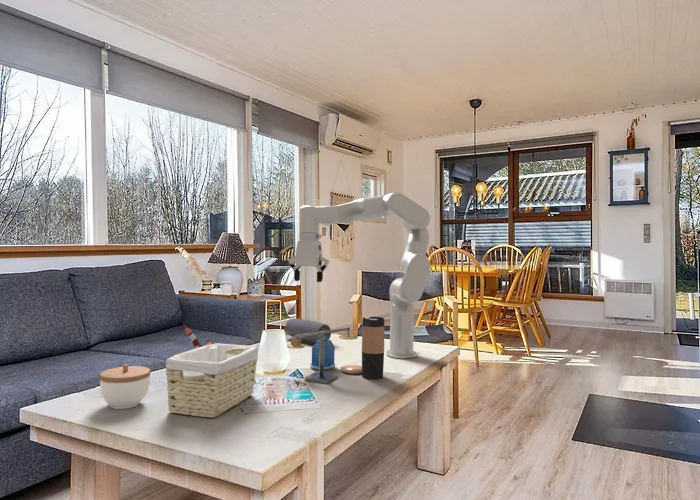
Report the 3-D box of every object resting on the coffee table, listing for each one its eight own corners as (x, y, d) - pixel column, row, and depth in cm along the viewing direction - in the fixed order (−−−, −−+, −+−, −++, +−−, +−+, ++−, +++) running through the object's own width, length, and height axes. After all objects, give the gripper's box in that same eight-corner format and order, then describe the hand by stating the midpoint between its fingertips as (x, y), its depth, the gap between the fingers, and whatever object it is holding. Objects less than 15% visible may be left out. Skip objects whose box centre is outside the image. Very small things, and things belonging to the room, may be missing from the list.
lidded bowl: (117, 416, 125) (117, 373, 125) (89, 406, 132) (90, 365, 132) (159, 402, 136) (160, 363, 136) (132, 394, 143) (132, 357, 143)
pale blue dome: (316, 363, 184) (316, 360, 184) (338, 366, 180) (338, 363, 180) (305, 369, 175) (306, 365, 175) (328, 371, 172) (328, 368, 172)
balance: (293, 372, 171) (294, 320, 171) (360, 380, 162) (361, 326, 161) (281, 377, 164) (282, 324, 163) (351, 387, 154) (352, 330, 154)
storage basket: (212, 389, 150) (212, 341, 150) (260, 394, 145) (261, 345, 145) (161, 415, 127) (162, 358, 127) (216, 422, 122) (217, 363, 122)
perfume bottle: (311, 365, 176) (312, 332, 176) (319, 361, 182) (319, 329, 182) (327, 367, 174) (327, 333, 174) (334, 363, 180) (334, 330, 179)
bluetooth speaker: (332, 344, 220) (332, 322, 220) (316, 347, 213) (317, 324, 213) (299, 337, 236) (299, 316, 235) (283, 339, 229) (284, 318, 229)
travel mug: (382, 380, 162) (383, 320, 162) (359, 378, 164) (360, 319, 164) (385, 374, 170) (386, 317, 170) (363, 373, 171) (364, 316, 171)
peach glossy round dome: (346, 367, 179) (346, 363, 179) (369, 369, 176) (369, 366, 176) (336, 372, 171) (336, 369, 171) (360, 375, 167) (360, 372, 167)
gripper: (333, 238, 191) (332, 281, 191) (293, 237, 198) (293, 279, 198) (324, 237, 184) (324, 283, 184) (284, 237, 191) (284, 281, 191)
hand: (308, 281), depth 191 cm, fingers open, 9 cm apart
